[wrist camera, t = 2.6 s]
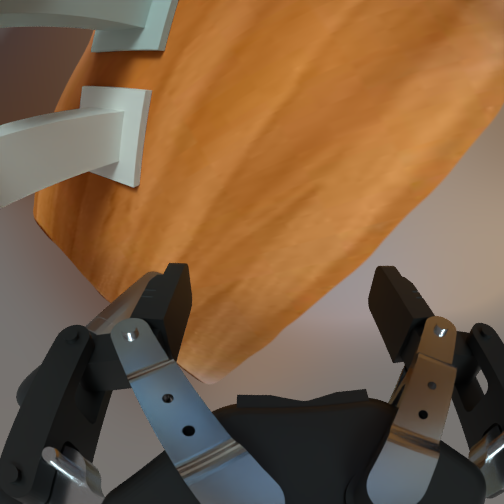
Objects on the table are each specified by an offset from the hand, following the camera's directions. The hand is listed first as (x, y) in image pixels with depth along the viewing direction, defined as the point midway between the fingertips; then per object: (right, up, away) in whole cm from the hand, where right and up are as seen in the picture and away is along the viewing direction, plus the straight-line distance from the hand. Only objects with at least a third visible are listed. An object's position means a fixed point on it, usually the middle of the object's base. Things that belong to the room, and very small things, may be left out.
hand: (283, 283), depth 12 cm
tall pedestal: (-24, +21, +28) cm, 42 cm away
